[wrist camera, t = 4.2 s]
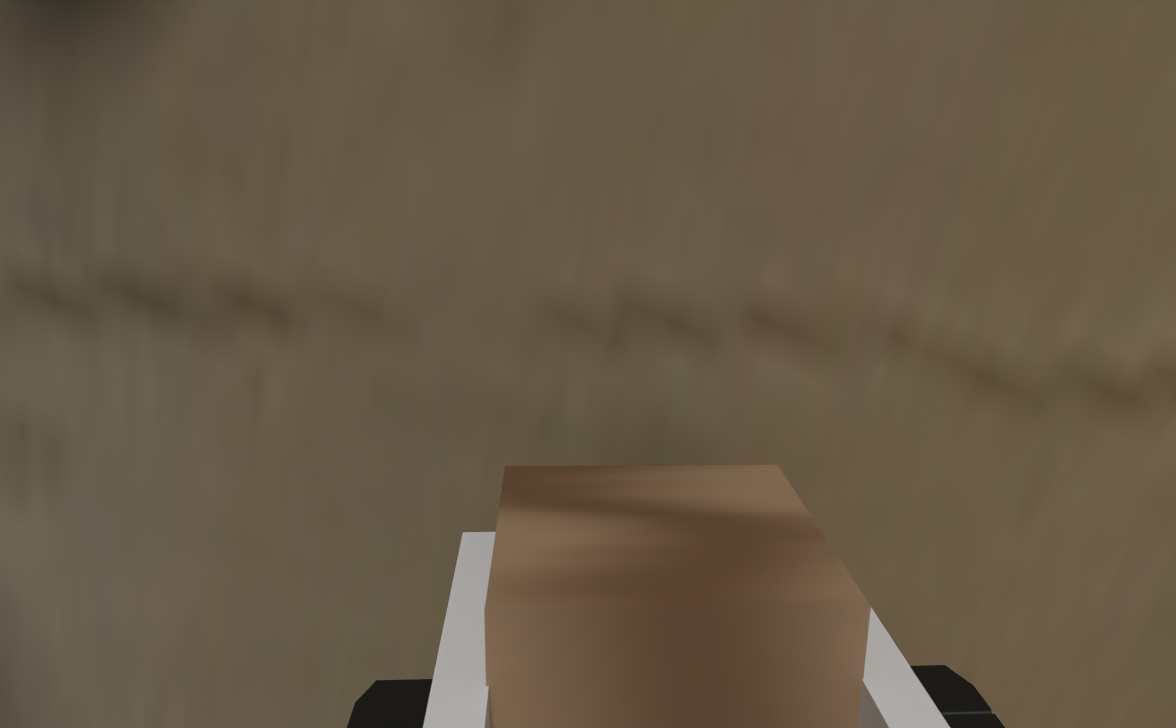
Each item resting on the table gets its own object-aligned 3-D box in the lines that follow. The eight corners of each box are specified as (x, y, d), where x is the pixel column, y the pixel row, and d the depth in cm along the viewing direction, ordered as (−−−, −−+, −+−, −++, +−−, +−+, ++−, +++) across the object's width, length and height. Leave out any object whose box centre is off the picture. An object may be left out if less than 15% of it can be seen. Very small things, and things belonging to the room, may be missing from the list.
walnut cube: (509, 704, 17) (491, 926, 13) (505, 466, 16) (483, 610, 11) (761, 700, 18) (838, 916, 13) (777, 465, 16) (871, 606, 12)
